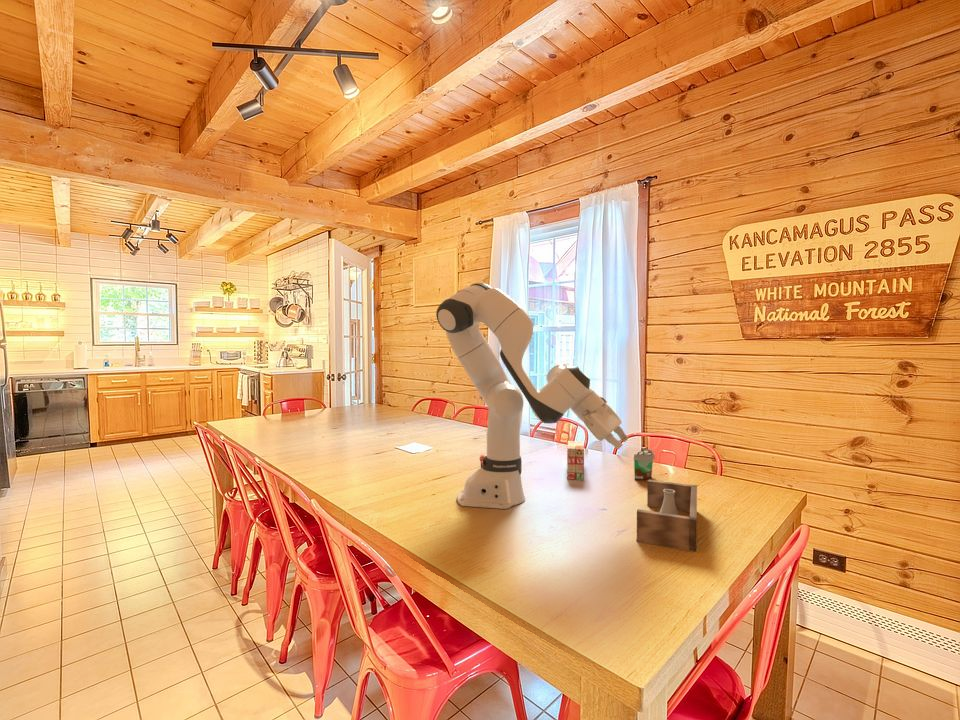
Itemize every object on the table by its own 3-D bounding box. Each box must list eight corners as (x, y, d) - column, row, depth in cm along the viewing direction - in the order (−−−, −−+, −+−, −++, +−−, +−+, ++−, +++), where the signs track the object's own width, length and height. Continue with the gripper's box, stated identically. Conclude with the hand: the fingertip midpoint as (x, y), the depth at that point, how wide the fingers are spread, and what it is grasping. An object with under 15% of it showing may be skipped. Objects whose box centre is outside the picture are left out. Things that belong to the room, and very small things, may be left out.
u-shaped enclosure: (636, 541, 118) (636, 511, 118) (647, 504, 145) (648, 479, 144) (696, 551, 112) (696, 520, 112) (696, 511, 139) (697, 485, 138)
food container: (650, 483, 165) (651, 456, 165) (633, 481, 168) (633, 454, 168) (657, 475, 176) (657, 449, 175) (641, 472, 179) (641, 447, 178)
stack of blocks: (567, 464, 192) (567, 435, 191) (582, 465, 191) (582, 436, 190) (567, 480, 171) (567, 447, 170) (584, 480, 170) (584, 448, 169)
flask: (682, 522, 130) (683, 488, 130) (682, 532, 124) (682, 496, 123) (656, 518, 133) (656, 485, 133) (654, 527, 127) (654, 492, 126)
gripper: (588, 406, 126) (624, 444, 122) (605, 397, 144) (637, 430, 140) (572, 421, 128) (608, 459, 124) (591, 410, 146) (622, 443, 142)
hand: (623, 443), depth 132 cm, fingers open, 8 cm apart
